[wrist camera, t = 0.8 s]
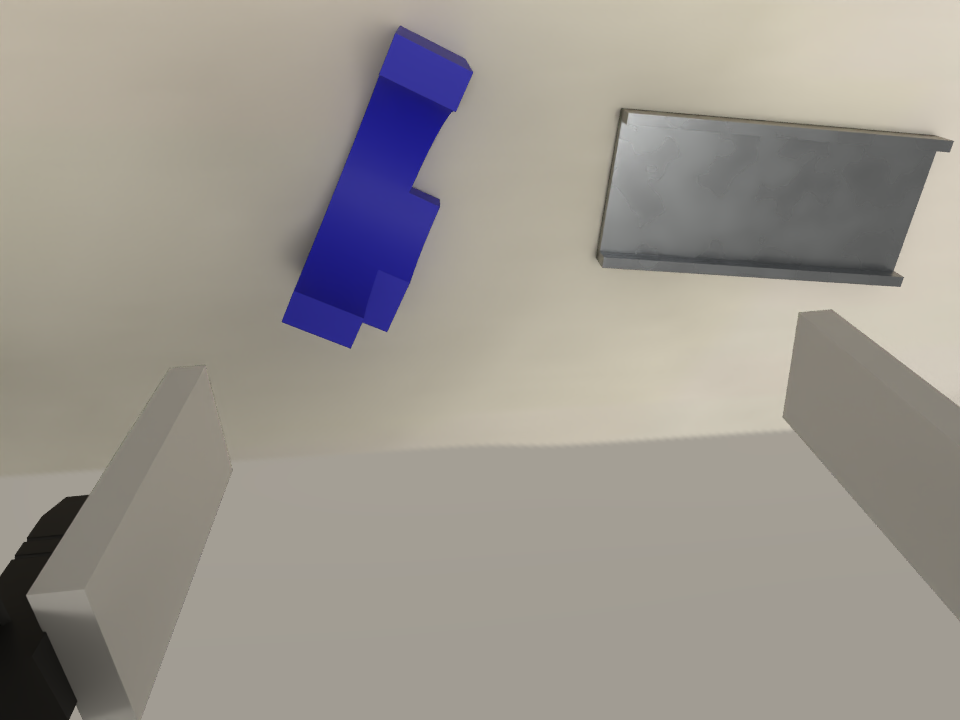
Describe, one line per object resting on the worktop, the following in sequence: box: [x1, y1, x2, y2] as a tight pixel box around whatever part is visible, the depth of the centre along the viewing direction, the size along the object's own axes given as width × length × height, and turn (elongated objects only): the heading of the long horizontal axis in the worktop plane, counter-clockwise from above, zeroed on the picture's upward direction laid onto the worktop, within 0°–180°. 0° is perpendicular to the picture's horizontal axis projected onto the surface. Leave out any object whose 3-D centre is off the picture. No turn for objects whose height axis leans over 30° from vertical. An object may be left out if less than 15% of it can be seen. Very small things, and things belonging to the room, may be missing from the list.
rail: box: [596, 108, 954, 287], centre depth 34 cm, size 15×7×1 cm, turn 85°
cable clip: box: [282, 26, 473, 349], centre depth 31 cm, size 12×4×6 cm, turn 154°
